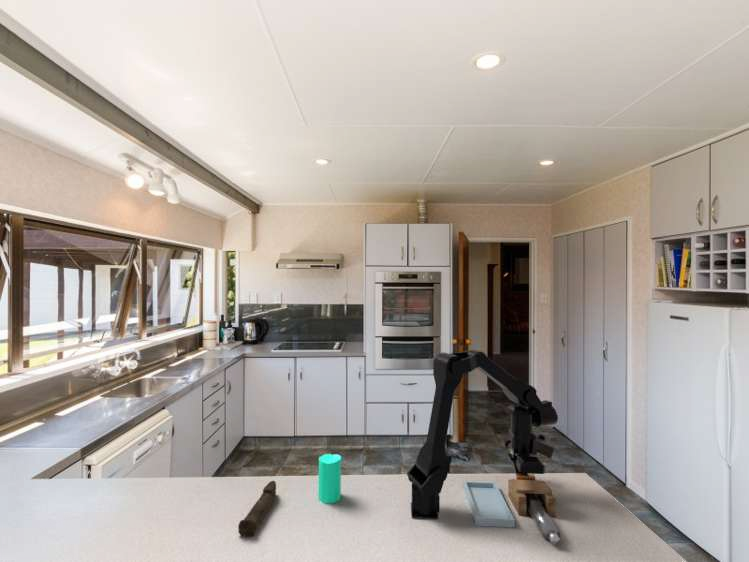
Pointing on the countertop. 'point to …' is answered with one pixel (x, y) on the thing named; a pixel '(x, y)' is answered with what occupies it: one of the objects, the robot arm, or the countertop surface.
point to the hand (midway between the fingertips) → (521, 484)
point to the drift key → (528, 495)
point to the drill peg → (544, 522)
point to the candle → (329, 478)
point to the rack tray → (487, 504)
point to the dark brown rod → (258, 511)
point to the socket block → (530, 486)
